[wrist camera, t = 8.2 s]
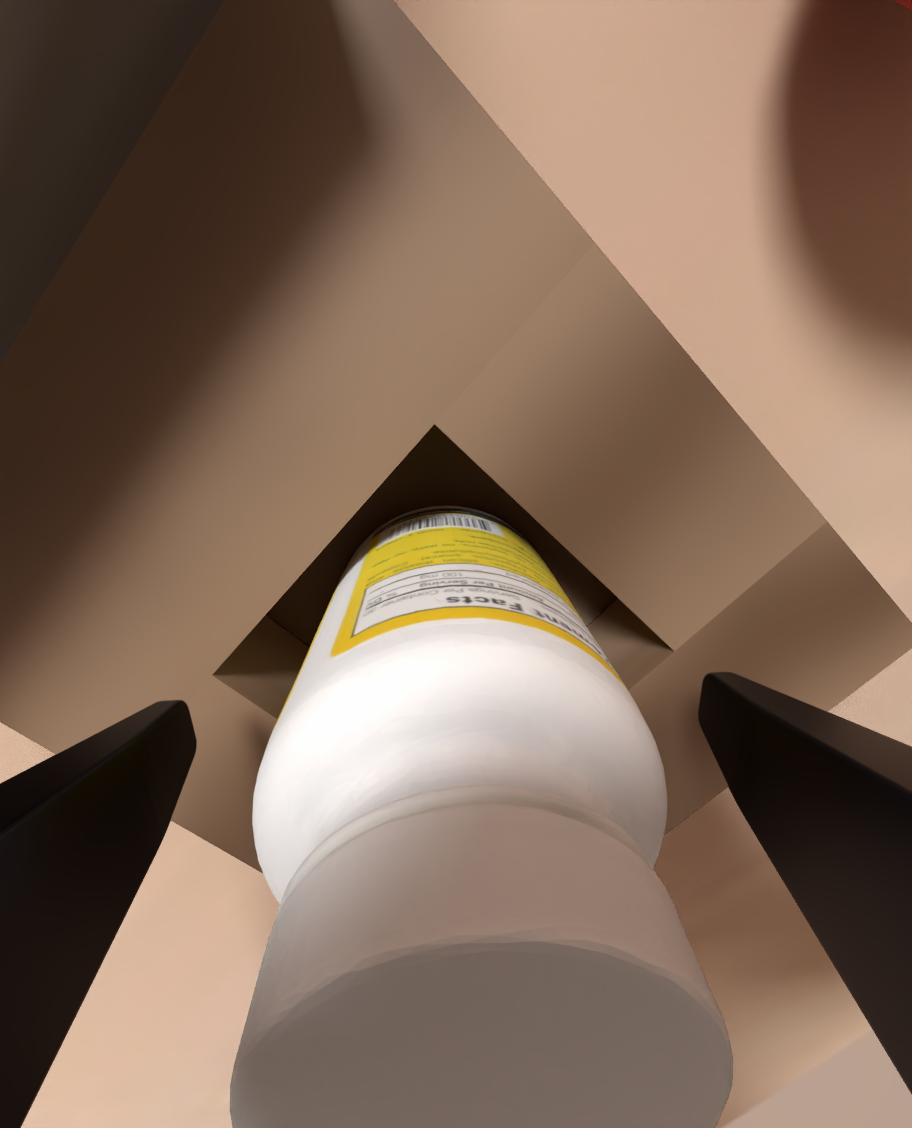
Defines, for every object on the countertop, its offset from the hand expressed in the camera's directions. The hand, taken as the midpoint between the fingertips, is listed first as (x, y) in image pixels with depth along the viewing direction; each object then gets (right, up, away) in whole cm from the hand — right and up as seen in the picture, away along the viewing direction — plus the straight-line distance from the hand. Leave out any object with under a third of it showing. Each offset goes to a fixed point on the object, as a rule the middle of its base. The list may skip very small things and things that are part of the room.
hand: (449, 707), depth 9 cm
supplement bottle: (0, +2, +4) cm, 5 cm away
